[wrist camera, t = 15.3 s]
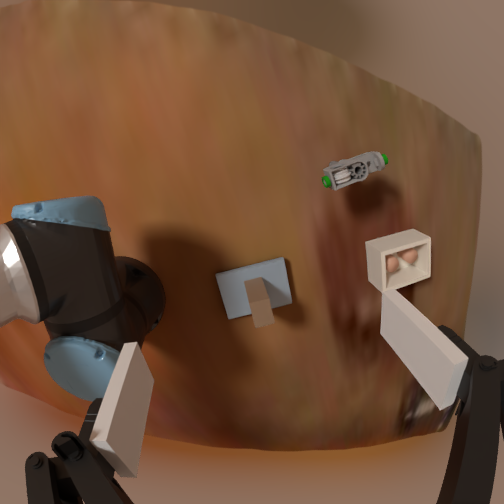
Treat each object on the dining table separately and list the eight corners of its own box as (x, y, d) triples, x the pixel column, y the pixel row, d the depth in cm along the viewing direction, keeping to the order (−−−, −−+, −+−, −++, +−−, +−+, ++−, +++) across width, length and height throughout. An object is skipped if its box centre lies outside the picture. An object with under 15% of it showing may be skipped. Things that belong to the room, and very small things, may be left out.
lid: (228, 314, 56) (231, 345, 47) (215, 272, 53) (216, 298, 44) (290, 298, 56) (304, 326, 47) (281, 255, 53) (295, 278, 44)
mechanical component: (361, 164, 50) (391, 169, 40) (309, 184, 50) (330, 193, 40) (356, 148, 49) (385, 149, 39) (302, 168, 49) (323, 173, 39)
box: (368, 280, 57) (382, 293, 51) (365, 241, 54) (380, 252, 49) (413, 265, 57) (430, 276, 52) (413, 228, 55) (430, 237, 49)
